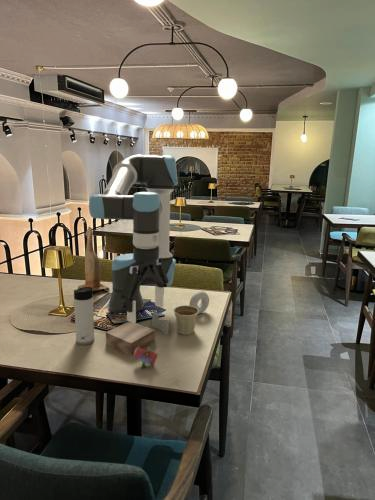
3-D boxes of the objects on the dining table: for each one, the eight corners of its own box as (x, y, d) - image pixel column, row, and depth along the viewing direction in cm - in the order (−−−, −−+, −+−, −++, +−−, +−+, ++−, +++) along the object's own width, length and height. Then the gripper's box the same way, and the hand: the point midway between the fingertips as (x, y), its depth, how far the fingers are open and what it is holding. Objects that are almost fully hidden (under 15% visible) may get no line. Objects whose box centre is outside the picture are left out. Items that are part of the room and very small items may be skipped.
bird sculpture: (97, 285, 186) (93, 223, 179) (110, 291, 178) (107, 226, 171) (77, 291, 179) (72, 226, 171) (90, 297, 171) (85, 229, 163)
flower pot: (180, 339, 134) (180, 317, 132) (169, 328, 142) (169, 307, 140) (202, 334, 139) (203, 313, 136) (190, 323, 147) (191, 303, 144)
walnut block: (106, 345, 129) (105, 332, 128) (130, 332, 138) (130, 320, 137) (131, 356, 122) (131, 343, 121) (154, 342, 132) (154, 330, 131)
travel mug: (85, 347, 127) (83, 292, 122) (72, 341, 130) (69, 288, 125) (98, 340, 132) (97, 287, 127) (85, 335, 135) (83, 283, 130)
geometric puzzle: (163, 354, 120) (148, 335, 118) (161, 365, 113) (145, 346, 112) (145, 365, 121) (131, 347, 120) (142, 377, 114) (127, 358, 113)
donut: (192, 317, 152) (193, 295, 150) (187, 315, 155) (188, 292, 152) (210, 312, 158) (211, 290, 156) (205, 309, 161) (206, 287, 158)
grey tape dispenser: (165, 334, 137) (150, 324, 145) (168, 333, 138) (153, 323, 146) (165, 320, 136) (151, 311, 144) (168, 319, 137) (154, 310, 144)
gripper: (127, 256, 95) (128, 332, 100) (180, 240, 116) (178, 303, 121) (106, 252, 99) (108, 324, 104) (160, 237, 120) (160, 298, 125)
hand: (145, 313), depth 113 cm, fingers open, 13 cm apart
